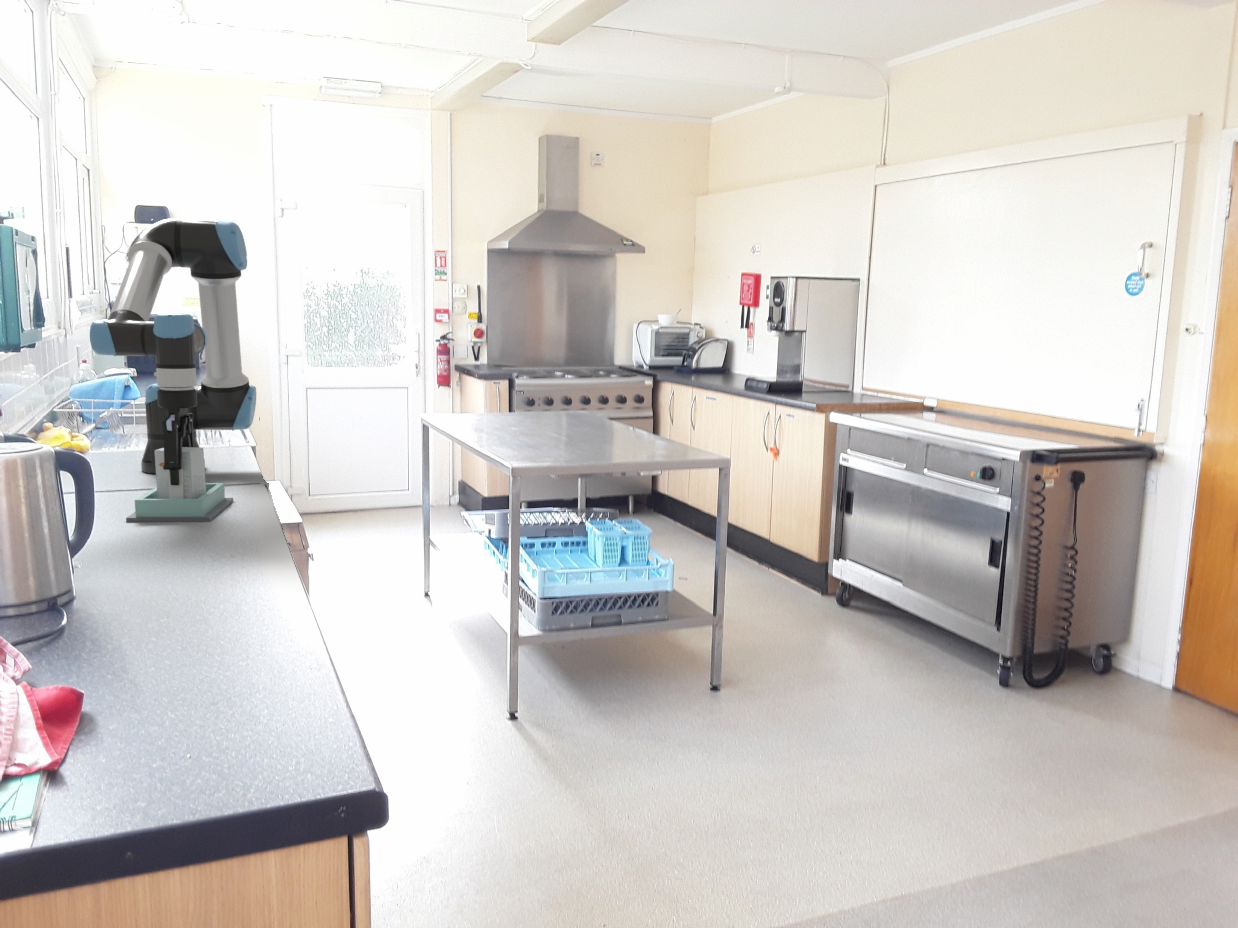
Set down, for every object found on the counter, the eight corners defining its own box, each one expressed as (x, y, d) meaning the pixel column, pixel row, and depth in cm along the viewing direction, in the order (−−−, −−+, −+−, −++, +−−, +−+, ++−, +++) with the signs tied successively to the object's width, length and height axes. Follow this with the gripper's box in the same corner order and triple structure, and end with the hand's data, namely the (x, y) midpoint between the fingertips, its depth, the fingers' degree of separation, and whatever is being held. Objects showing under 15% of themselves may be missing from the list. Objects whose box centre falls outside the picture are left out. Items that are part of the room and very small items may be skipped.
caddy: (157, 501, 210) (156, 482, 209) (233, 501, 212) (232, 482, 212) (126, 521, 190) (125, 500, 190) (210, 521, 193) (209, 500, 192)
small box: (206, 495, 203) (204, 447, 202) (192, 500, 198) (190, 451, 196) (171, 493, 204) (169, 445, 202) (156, 499, 199) (153, 449, 197)
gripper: (171, 383, 206) (176, 487, 210) (142, 392, 187) (148, 506, 191) (208, 384, 207) (212, 487, 211) (182, 393, 188) (187, 506, 192)
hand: (181, 496), depth 201 cm, fingers closed on small box, 6 cm apart
